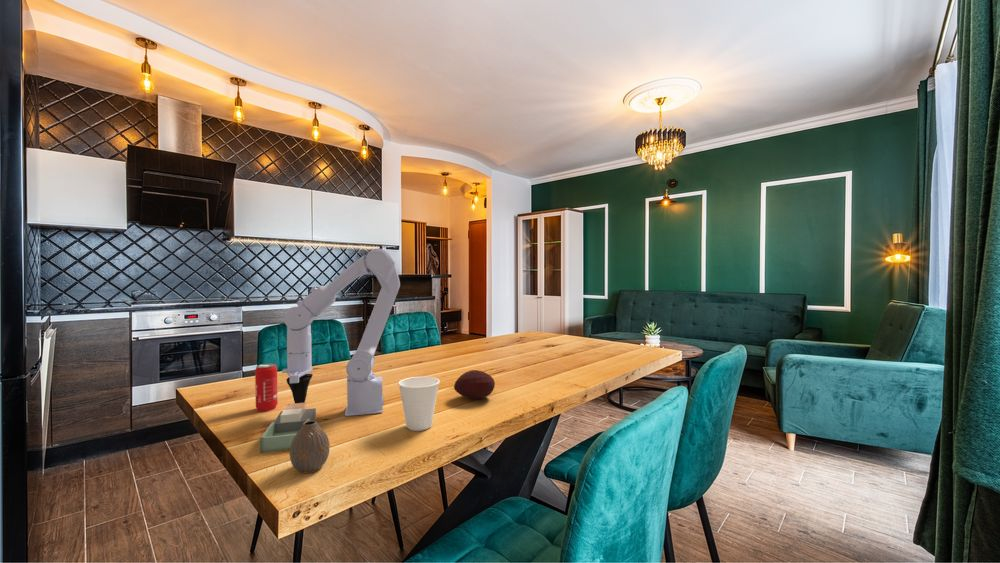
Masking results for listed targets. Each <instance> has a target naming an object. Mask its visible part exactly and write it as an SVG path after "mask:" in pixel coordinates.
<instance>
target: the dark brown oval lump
mask: <svg viewBox="0 0 1000 563" xmlns="http://www.w3.org/2000/svg"><path fill="white" fill-rule="evenodd" d="M495 385H496V383H495V379H494V378H493V377H492V376H491V374H489V373H487V372H485V371H482V370H476V369H474V370H473V369H471V370H469V371H466V372H465V371H464V373H463V374H461V375H460V376H459V377H458V378H457V379H456V381H455V382H454V385H453V389H454V390H455V392H456V393H457V394H459V395H460V396H462V397H463V398H467V399H469V400H480V399H483V398H486V397H488V396H490V395H491V394H492V393H493V391H494V390H495Z"/></svg>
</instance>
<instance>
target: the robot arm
mask: <svg viewBox="0 0 1000 563" xmlns="http://www.w3.org/2000/svg"><path fill="white" fill-rule="evenodd" d="M396 265H397V264H396V262H395V260H394V259H393V258H392V256H391V255H390V253H388V251H386V250H385V249H382V248H374V249H371V250H370V251H369V252H367V254H365V255H362V256H361V257H359V258H358V259H357V260H355V261H354V262H353V263H351V264H350V265H349V266H348V267H347V268H346V269H345V270H343V271H342V272H341V273H340V274H339V275H338V276H336V278H334V280H332V281H331V282H330V283H329V284H327V285H318V286H317V287H316V286H314V287H312V288H311V289H310V293H309V294H308V295H307V296H305V298H303V299H302V300H297V301H296V305H297V306H292V307H290V308H288V309H287V311H286V312H285V313H284V316H283V321H284V324H285V325H286V328H287V329H286V330H287V331H286V332H287V333H286V354H287V355H286V356H287V357H286V359H287V364H286V365H287V368H283V369H282V370H281V371H282V374H287V375H288V377H287V378H286V379H285V380H286V383H287V385H288V386H289V389H290V391H291V393H292V394H291V395H292V398H293V402H294V404H295V403H306V398H307V393H308V389H309V386H310V382H311V380H312V378H313V376H314V375H313V373H311V372H313V366H312V364H313V361H312V360H313V359H312V358H313V357H312V356H313V354H312V333H311V332H312V327H311V326H312V325H311V324H312V323H313V322H314V319H316V318H318V317H319V316H320V315H321V314H323V312H325V311H326V310H327V309H328V308H330V307H331V306H332V305H333V304H334V303H336V297H337V294H338V293H340V292H341V291H342V290H344V289H345V288H346V287H347V286H348V285H350V284H351V283H353V282H354V281H355V280H356V279H358V277H360V276H364V275H368V274H372V273H373V275H374V276H375V277H376V279H377V280H378V282H379V284H380V286H381V289H380V290H379V293H378V296H377V298H376V301H375V303H374V306H373V309H372V311H371V315H370V316H369V319H368V322H367V323H366V326H365V329H364V332H363V334H362V338H361V339H360V342H359V345H358V347H357V349H356V351H355V353H353V355H352V357H351V359H350V360H348V362H347V364H346V367H345V368H346V370H345V371H346V375H348V376H346V406H345V411H344V417H350V416H361V415H373V414H382V413H383V408H384V407H383V406H384V404H385V401H384V400H385V397H384V396H383V376H376V373H374V371H373V370H372V369H373V367H374V365H375V363H376V362H375V353H376V351H377V348H378V345H379V342H380V339H381V338H382V337H381V336H382V334H383V332H384V329H385V327H386V324H387V321H388V319H389V316H390V313H391V311H392V309H393V306H394V303H395V300H396V297H397V295H398V293H399V291H400V290H399V289H400V287H401V281H400V277H399V274H398V268H397V266H396Z"/></svg>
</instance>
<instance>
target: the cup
mask: <svg viewBox="0 0 1000 563" xmlns="http://www.w3.org/2000/svg"><path fill="white" fill-rule="evenodd" d="M397 384H398V386H399V391H400V397H401V402H402V407H403V409H402V410H403V413H404V420H405V426H406V428H407V429H408V430H409V431H415V432H420V431H426V430H429V429H430V428H431V427H432V426H433V420H434V416H435V414H434V413H435V407H436V402H437V395H438V390H439V384H440V379H439V378H437V377H433V376H413V377H407V378H403V379H401V380H399V381H398V383H397Z"/></svg>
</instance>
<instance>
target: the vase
mask: <svg viewBox="0 0 1000 563" xmlns="http://www.w3.org/2000/svg"><path fill="white" fill-rule="evenodd" d="M330 447H331V446H330V440H329V437H328V435H327V433H326V432H325V431H324V430H323V428H321V427H320V425H319V423H318V422H317V420H315V421H307V422H304V423H303V424H302V427H301V429H300V430H299V431H298V433H297V434H296V435H295V437H294V438H293V440H292V443H291V446H290V450H289V459H290V463H291V465H292V468H294V469H295V470H296V471H297V472H299V473H301V474H310V473H314V472H317V471H318V470H320V469H322V467H323V466H324V465H325V464H326V462H327V460H328V458H329V456H330Z"/></svg>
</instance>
